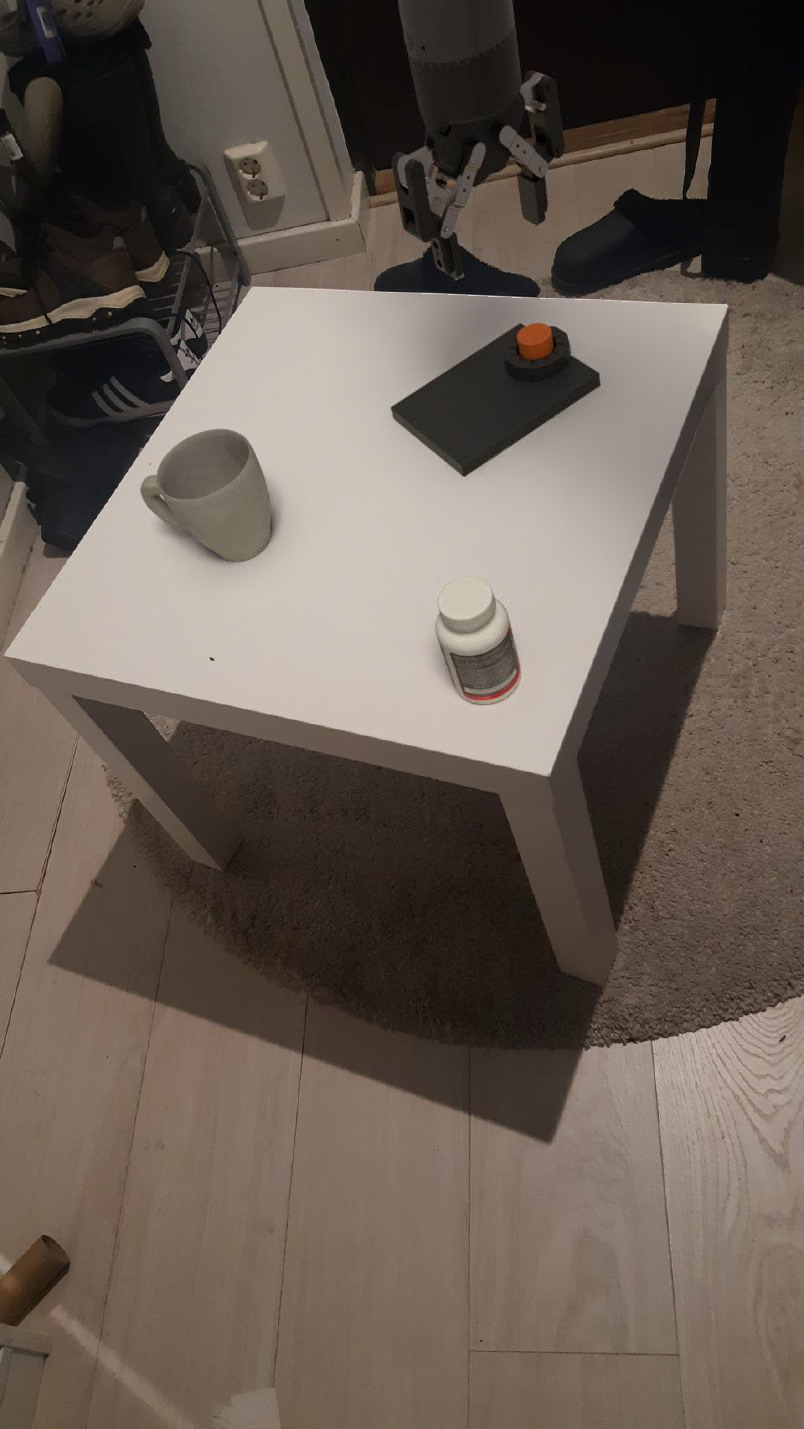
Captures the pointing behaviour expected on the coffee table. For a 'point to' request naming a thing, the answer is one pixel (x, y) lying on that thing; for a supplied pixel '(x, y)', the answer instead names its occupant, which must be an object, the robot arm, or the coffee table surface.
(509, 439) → the scale
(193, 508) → the mug
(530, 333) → the button
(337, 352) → the coffee table surface
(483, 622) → the pill bottle
